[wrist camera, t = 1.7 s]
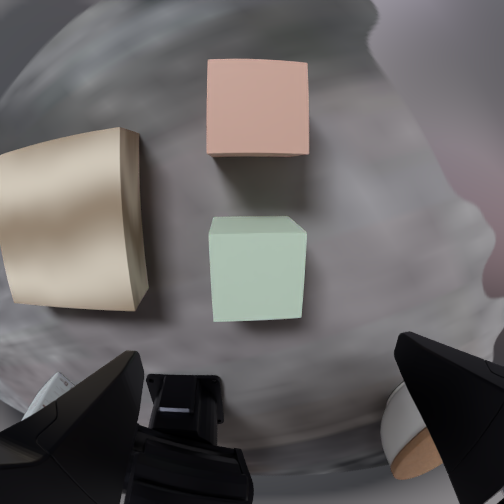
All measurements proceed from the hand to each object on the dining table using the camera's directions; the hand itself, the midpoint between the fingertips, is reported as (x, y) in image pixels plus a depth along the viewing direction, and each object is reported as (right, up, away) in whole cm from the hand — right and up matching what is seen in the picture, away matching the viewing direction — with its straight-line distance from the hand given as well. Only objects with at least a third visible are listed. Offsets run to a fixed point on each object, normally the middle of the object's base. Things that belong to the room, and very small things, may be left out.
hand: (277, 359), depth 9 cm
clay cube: (-1, +12, +9) cm, 15 cm away
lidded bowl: (+18, -13, +18) cm, 29 cm away
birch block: (-14, +6, +10) cm, 18 cm away
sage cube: (-1, +3, +11) cm, 12 cm away
